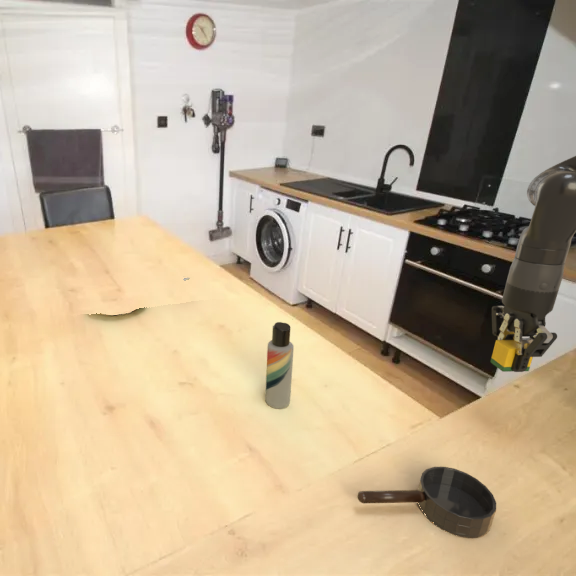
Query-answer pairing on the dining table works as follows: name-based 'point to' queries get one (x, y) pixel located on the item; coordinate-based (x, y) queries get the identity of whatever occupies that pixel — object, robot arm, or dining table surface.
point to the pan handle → (391, 496)
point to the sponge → (506, 355)
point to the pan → (457, 502)
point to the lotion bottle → (279, 367)
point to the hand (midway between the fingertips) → (509, 364)
